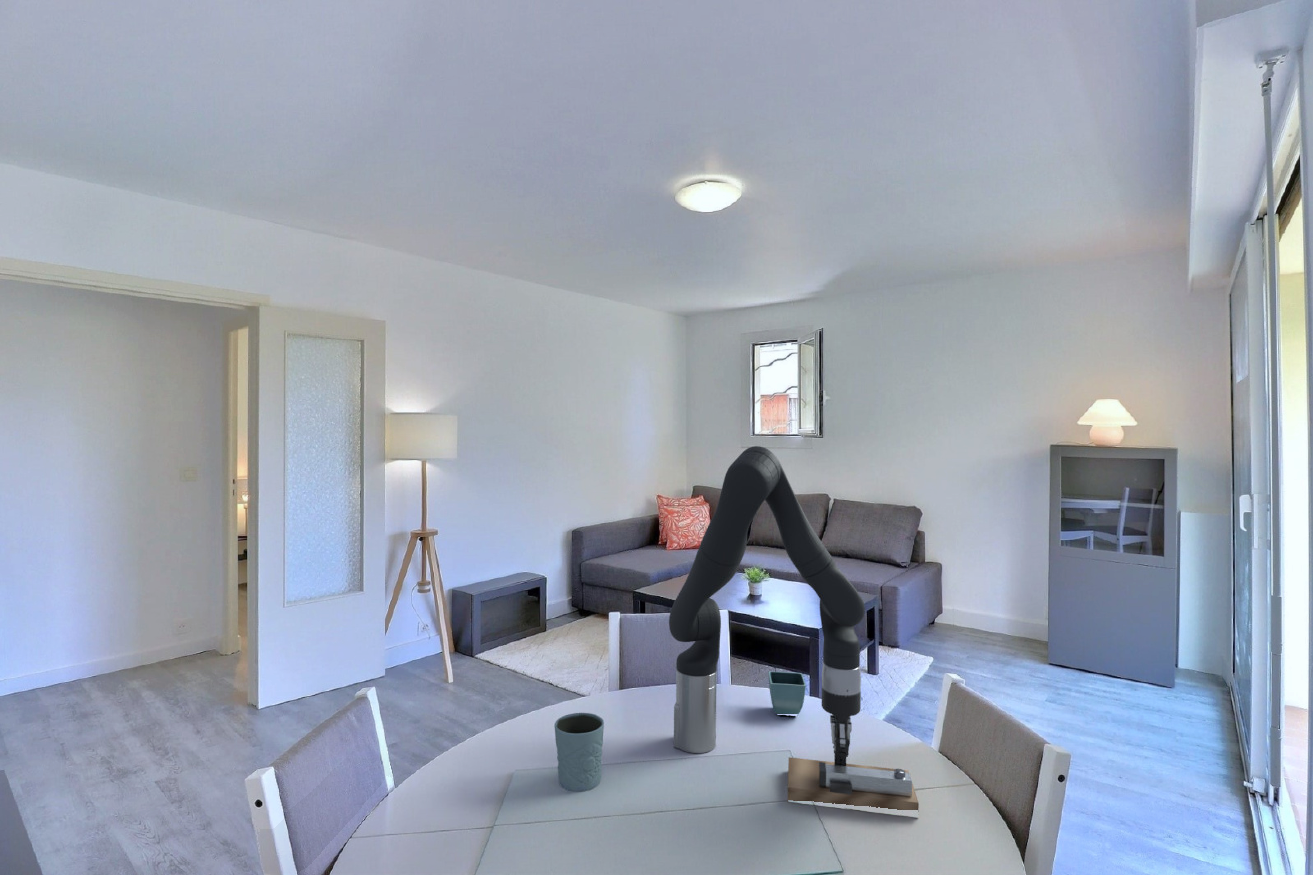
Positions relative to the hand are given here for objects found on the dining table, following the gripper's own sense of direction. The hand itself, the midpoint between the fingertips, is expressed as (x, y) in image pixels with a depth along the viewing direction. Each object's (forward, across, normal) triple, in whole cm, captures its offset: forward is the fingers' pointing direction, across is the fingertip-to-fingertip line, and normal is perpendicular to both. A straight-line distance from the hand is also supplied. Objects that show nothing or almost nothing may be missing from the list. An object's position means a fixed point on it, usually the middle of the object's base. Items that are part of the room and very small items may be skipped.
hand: (840, 771), depth 135 cm
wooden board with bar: (+4, 0, -2) cm, 4 cm away
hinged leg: (+1, -3, -4) cm, 6 cm away
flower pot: (+5, +35, +11) cm, 37 cm away
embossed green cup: (+4, -8, +52) cm, 53 cm away
